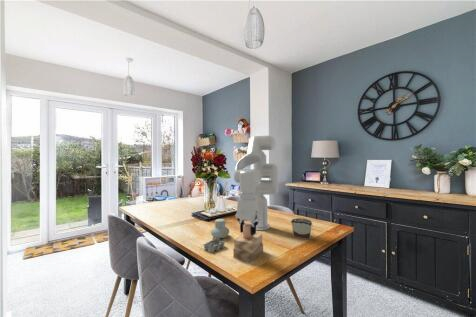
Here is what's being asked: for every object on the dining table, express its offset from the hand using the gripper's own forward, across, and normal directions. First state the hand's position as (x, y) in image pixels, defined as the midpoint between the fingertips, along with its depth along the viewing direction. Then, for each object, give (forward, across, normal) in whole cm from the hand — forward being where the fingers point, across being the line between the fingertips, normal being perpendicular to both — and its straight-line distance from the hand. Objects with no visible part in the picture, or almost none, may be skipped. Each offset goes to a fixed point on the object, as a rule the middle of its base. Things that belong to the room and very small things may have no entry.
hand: (248, 232), depth 110 cm
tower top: (+7, 0, 0) cm, 7 cm away
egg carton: (+11, -19, -4) cm, 22 cm away
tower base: (+11, 0, 0) cm, 11 cm away
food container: (+11, +13, +38) cm, 42 cm away
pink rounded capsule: (+2, 0, 0) cm, 2 cm away
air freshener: (+11, -27, +10) cm, 31 cm away
